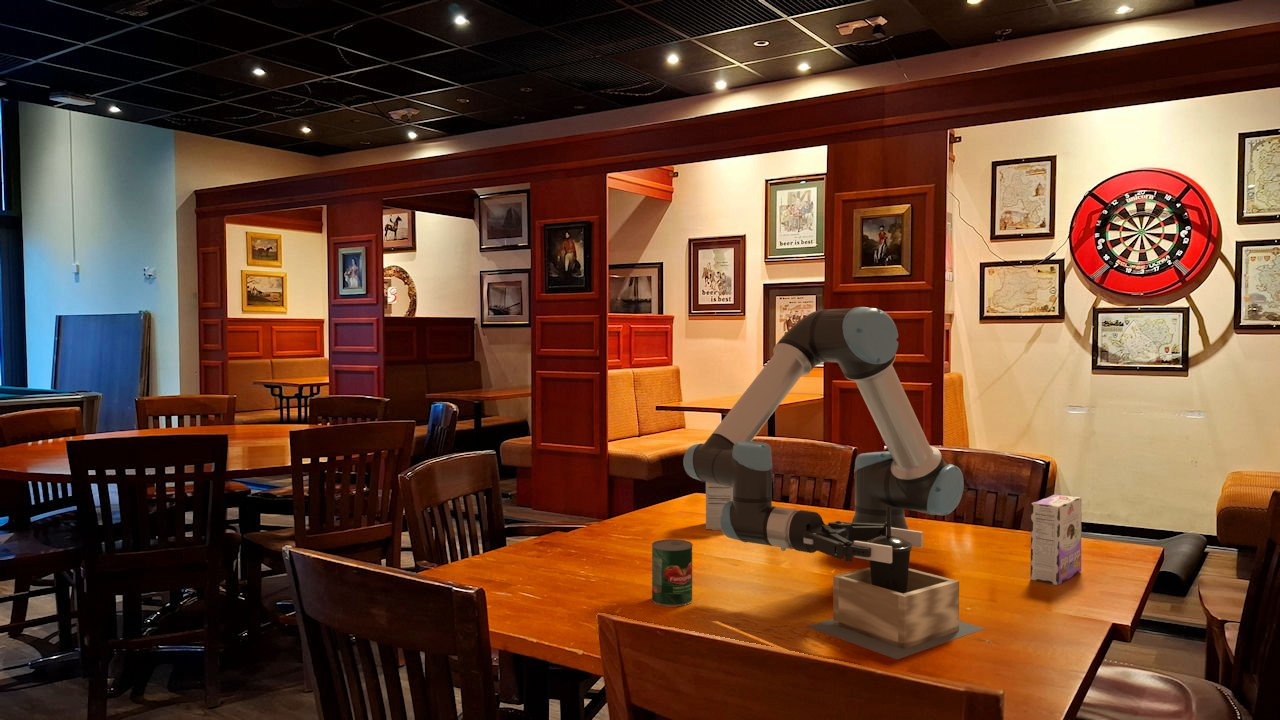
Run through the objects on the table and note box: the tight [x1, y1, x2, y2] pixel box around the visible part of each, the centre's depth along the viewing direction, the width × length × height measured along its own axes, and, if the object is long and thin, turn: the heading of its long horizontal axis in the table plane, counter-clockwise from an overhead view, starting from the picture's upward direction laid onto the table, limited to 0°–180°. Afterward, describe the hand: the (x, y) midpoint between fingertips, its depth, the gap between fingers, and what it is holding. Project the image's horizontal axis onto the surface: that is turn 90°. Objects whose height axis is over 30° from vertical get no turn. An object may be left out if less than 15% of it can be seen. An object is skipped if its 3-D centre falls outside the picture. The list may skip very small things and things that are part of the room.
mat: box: [806, 618, 986, 660], centre depth 147 cm, size 24×19×1 cm
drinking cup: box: [867, 507, 913, 594], centre depth 147 cm, size 8×8×20 cm
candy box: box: [1030, 494, 1082, 586], centre depth 180 cm, size 14×6×16 cm, turn 135°
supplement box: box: [705, 482, 733, 531], centre depth 228 cm, size 10×9×17 cm
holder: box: [832, 566, 960, 649], centre depth 147 cm, size 15×15×8 cm
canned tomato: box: [651, 538, 693, 607], centre depth 164 cm, size 8×8×11 cm
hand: (907, 547), depth 145 cm, fingers open, 13 cm apart
